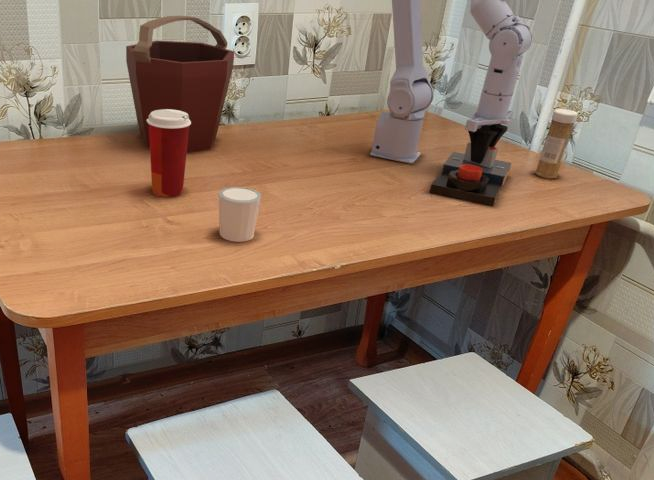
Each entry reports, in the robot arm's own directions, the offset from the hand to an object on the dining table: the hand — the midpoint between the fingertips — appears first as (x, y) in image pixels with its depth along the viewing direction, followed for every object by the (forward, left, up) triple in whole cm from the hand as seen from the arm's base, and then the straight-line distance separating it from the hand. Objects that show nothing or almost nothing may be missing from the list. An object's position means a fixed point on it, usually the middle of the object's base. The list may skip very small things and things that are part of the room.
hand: (478, 161), depth 144 cm
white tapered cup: (-29, -54, -4) cm, 61 cm away
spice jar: (+13, +11, -4) cm, 17 cm away
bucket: (-62, -16, -4) cm, 64 cm away
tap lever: (0, 0, 0) cm, 0 cm away
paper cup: (-48, -44, -4) cm, 65 cm away
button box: (0, -11, -3) cm, 12 cm away
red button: (0, -11, 0) cm, 11 cm away
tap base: (0, 0, -3) cm, 3 cm away
